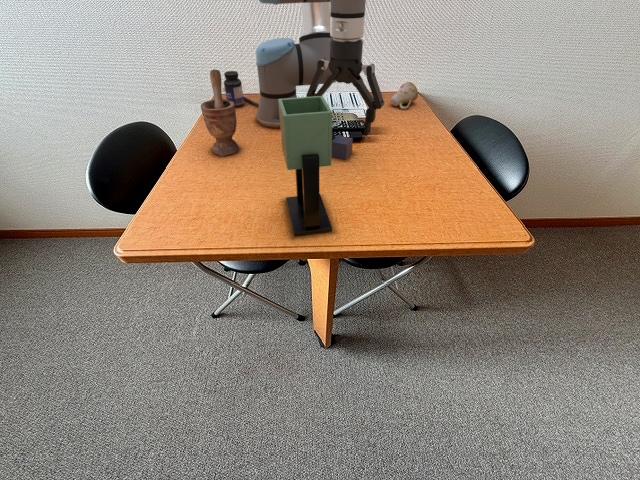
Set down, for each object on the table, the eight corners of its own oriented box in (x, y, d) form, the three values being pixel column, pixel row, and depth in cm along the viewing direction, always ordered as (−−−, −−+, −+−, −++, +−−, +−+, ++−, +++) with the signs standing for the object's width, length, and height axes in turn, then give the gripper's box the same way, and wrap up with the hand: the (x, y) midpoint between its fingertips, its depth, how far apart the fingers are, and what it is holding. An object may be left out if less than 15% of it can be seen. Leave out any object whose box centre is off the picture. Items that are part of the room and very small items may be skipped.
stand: (319, 197, 80) (319, 127, 69) (332, 231, 71) (334, 157, 59) (286, 200, 79) (280, 130, 68) (294, 236, 69) (288, 161, 58)
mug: (383, 105, 125) (392, 77, 123) (401, 113, 131) (410, 86, 128) (398, 106, 119) (407, 76, 117) (416, 114, 125) (425, 86, 122)
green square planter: (322, 146, 69) (322, 95, 63) (331, 165, 63) (332, 112, 57) (282, 150, 68) (278, 98, 61) (287, 170, 62) (283, 115, 55)
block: (331, 156, 95) (331, 141, 92) (337, 149, 98) (337, 135, 95) (345, 160, 94) (346, 144, 91) (351, 153, 97) (352, 138, 94)
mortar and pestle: (205, 143, 102) (188, 71, 89) (233, 137, 105) (220, 66, 92) (215, 159, 94) (198, 83, 81) (245, 152, 97) (233, 78, 84)
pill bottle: (224, 104, 126) (218, 72, 118) (238, 100, 129) (233, 69, 121) (233, 109, 122) (227, 76, 115) (247, 105, 125) (243, 72, 118)
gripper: (290, 37, 78) (295, 126, 92) (395, 46, 70) (383, 143, 84) (305, 31, 84) (307, 117, 97) (405, 39, 75) (392, 132, 89)
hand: (342, 129), depth 91 cm, fingers open, 13 cm apart
